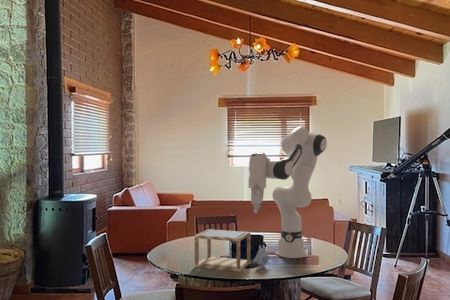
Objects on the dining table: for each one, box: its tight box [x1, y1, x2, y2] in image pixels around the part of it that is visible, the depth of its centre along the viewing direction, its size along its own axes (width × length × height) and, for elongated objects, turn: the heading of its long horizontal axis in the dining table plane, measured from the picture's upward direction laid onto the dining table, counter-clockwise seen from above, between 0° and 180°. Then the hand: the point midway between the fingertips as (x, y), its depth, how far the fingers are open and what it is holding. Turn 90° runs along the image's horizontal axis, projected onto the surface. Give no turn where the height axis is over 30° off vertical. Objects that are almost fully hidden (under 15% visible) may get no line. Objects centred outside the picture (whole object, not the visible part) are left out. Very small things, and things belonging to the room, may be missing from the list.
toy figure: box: [253, 244, 271, 270], centre depth 236 cm, size 11×6×12 cm, turn 124°
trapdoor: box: [200, 229, 246, 245], centre depth 243 cm, size 20×14×3 cm
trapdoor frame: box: [194, 228, 251, 273], centre depth 243 cm, size 24×18×16 cm
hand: (256, 212), depth 233 cm, fingers open, 8 cm apart
